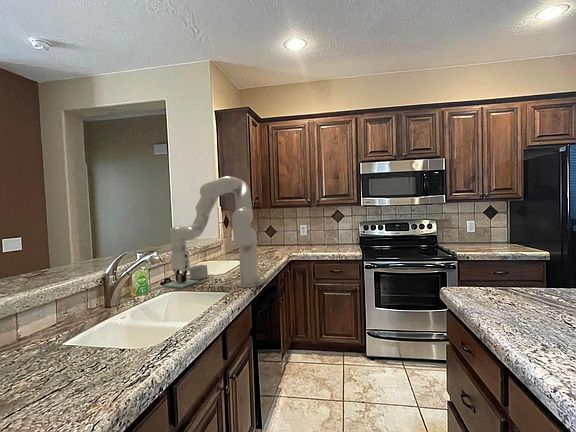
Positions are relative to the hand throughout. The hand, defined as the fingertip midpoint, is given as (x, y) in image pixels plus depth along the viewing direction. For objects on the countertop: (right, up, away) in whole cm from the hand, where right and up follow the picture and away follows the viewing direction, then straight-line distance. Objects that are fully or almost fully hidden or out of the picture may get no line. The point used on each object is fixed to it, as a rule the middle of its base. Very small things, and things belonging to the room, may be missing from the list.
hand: (181, 281), depth 185 cm
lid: (0, -2, 0) cm, 2 cm away
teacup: (+6, -2, +16) cm, 17 cm away
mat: (0, -3, 0) cm, 3 cm away
